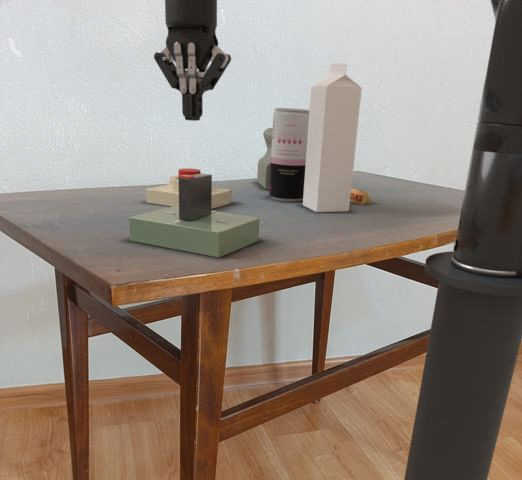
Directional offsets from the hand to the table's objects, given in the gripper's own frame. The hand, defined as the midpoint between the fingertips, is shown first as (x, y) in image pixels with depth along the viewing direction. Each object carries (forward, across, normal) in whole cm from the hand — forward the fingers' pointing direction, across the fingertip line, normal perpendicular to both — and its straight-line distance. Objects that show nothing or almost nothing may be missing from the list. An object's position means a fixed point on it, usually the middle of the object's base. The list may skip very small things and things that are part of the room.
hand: (192, 120), depth 92 cm
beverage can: (+13, +9, +16) cm, 23 cm away
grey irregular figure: (+13, +2, +28) cm, 31 cm away
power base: (+13, -1, +1) cm, 13 cm away
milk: (+14, +18, +12) cm, 26 cm away
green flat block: (+13, +14, -20) cm, 28 cm away
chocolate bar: (+14, +17, +24) cm, 33 cm away
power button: (+9, -1, +1) cm, 10 cm away
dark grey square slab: (+10, +14, -20) cm, 26 cm away
